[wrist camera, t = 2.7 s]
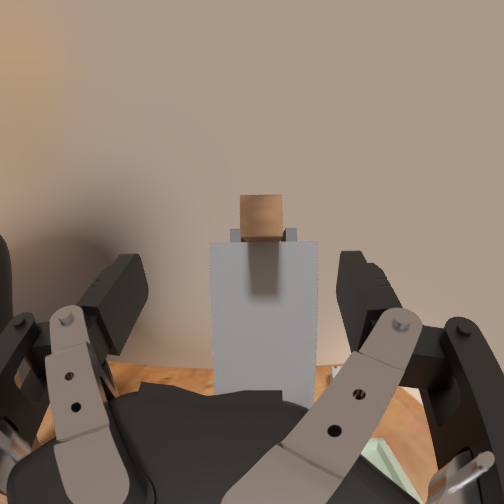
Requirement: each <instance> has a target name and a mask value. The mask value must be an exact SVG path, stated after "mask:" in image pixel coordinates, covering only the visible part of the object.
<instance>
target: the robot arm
mask: <svg viewBox="0 0 504 504" xmlns="http://www.w3.org/2000/svg"><path fill="white" fill-rule="evenodd" d="M336 295H337V301H338V305H339V308H340V312H341V316H342V319H343V323H344V326H345V330H346V334H347V338H348V341H349V345H350V349H351V353H352V354H351V355H350V356H349V358H348V359H347V361H346V362H345V363H344V365H343V366H342V368H341V369H340V370H339V372H338V373H337V375H336V376H335V377H334V379H333V380H332V381H331V383H330V384H329V385H328V387H327V388H326V389H325V391H324V392H323V393H322V394H321V396H320V397H319V398H318V400H317V401H316V402H315V403H314V405H313V406H312V407H311V408H310V410H309V409H308V408H306V407H303V406H301V405H299V404H296V403H292V402H289V401H284V400H283V395H282V390H243V391H237V392H232V393H226V394H219V395H213V396H205V395H201V394H198V393H194V392H191V391H188V390H185V389H182V388H179V387H176V386H173V385H163V384H155V383H147V382H141V385H140V388H139V391H138V392H132V393H127V394H124V395H121V396H120V395H119V392H118V389H117V387H116V384H115V381H114V379H113V376H112V373H111V370H110V367H109V364H108V362H107V360H106V357H107V355H108V354H110V355H118V356H119V355H120V353H121V351H122V349H123V347H124V345H125V343H126V341H127V339H128V337H129V335H130V332H131V331H132V329H133V327H134V324H135V322H136V320H137V318H138V316H139V315H140V313H141V310H142V308H143V307H144V305H145V303H146V301H147V298H148V284H147V280H146V277H145V273H144V269H143V265H142V261H141V258H140V256H139V255H138V254H121V255H119V256H118V258H117V259H116V260H115V261H114V263H113V264H112V265H111V266H109V267H108V268H106V269H105V270H103V271H102V272H101V273H100V274H99V276H98V277H97V278H96V279H95V281H94V282H93V283H92V284H91V287H89V288H88V290H87V291H86V292H85V293H84V295H83V296H82V297H81V299H80V300H79V301H78V303H77V304H76V306H75V305H71V306H66V307H63V308H61V309H59V310H58V311H57V312H55V313H54V315H53V316H52V317H51V319H50V321H49V322H43V323H37V321H36V319H35V317H34V316H33V314H32V313H28V312H26V313H21V314H19V315H17V316H15V317H14V318H13V304H12V272H11V261H10V255H9V251H8V247H7V245H6V242H5V240H4V239H3V237H2V236H1V235H0V493H1V494H3V495H6V496H7V501H8V504H420V503H419V502H418V501H417V500H416V499H415V498H413V497H412V496H411V495H410V494H408V493H407V492H406V491H405V490H403V489H402V488H401V487H400V486H398V485H397V484H396V483H395V482H394V481H392V480H391V479H390V478H389V477H388V476H386V475H385V474H384V473H383V472H382V471H380V470H379V469H378V468H377V467H376V466H375V465H373V464H372V463H371V462H370V461H369V460H368V459H366V458H365V457H364V456H363V455H362V454H361V452H362V451H363V449H364V447H365V446H366V444H367V442H368V441H369V439H370V437H371V436H372V434H373V432H374V431H375V429H376V427H377V425H378V424H379V422H380V420H381V418H382V416H383V415H384V413H385V411H386V409H387V407H388V405H389V403H390V401H391V399H392V397H393V395H394V393H395V391H396V389H397V387H398V386H403V387H411V388H418V389H419V391H420V394H421V398H422V402H423V406H424V409H425V413H426V417H427V421H428V425H429V429H430V433H431V437H432V442H433V446H434V451H435V456H436V461H437V466H438V471H437V472H436V473H435V474H434V476H433V477H432V479H431V480H430V483H429V487H428V499H427V502H426V504H504V374H503V372H502V370H501V368H500V366H499V364H498V362H497V360H496V358H495V356H494V355H493V352H492V351H491V349H490V347H489V345H488V343H487V341H486V340H485V338H484V336H483V334H482V333H481V331H480V329H479V328H478V326H477V325H476V324H475V323H474V322H472V321H471V320H469V319H466V318H463V317H453V318H451V319H449V320H448V321H447V322H446V324H445V327H444V328H437V327H430V326H424V325H422V322H421V320H420V318H419V317H418V316H417V315H416V314H415V313H414V312H412V311H410V310H407V309H404V308H403V307H402V306H401V303H400V301H399V300H398V298H397V296H396V294H395V292H394V290H393V288H392V287H391V285H390V283H389V281H388V280H387V277H386V276H385V274H384V272H383V270H382V269H380V268H379V267H378V266H377V265H375V264H374V263H367V262H366V260H365V258H364V256H363V254H362V252H361V251H342V252H341V254H340V261H339V269H338V277H337V285H336ZM23 358H24V360H25V361H26V363H27V364H28V366H29V367H30V371H29V373H28V375H27V376H26V378H25V380H24V382H23V384H22V386H21V383H20V378H19V374H18V367H19V365H20V364H21V362H22V360H23ZM49 403H50V406H51V412H52V417H53V423H54V428H55V433H56V437H55V438H53V439H51V440H50V441H48V442H47V443H45V444H44V445H42V446H40V444H39V441H38V438H37V436H36V435H37V432H38V430H39V427H40V425H41V422H42V420H43V417H44V415H45V413H46V410H47V408H48V406H49Z"/></svg>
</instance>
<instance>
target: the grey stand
mask: <svg viewBox="0 0 504 504" xmlns="http://www.w3.org/2000/svg"><path fill="white" fill-rule="evenodd" d="M317 256H318V253H317V241H305V242H303V241H302V242H301V241H300V242H297V228H286V229H285V231H284V232H283V237H282V238H281V242H247V241H245V240H244V239H242V238H241V237H240V229H230V242H229V243H210V287H211V323H212V349H213V370H214V388H215V395H219V394H226V393H232V392H237V391H243V390H282V395H283V400H284V401H289V402H292V403H296V404H299V405H301V406H303V407H306V408H308V409H309V410H310V408H311V407H312V406H313V404H314V388H315V370H316V347H317V308H318V307H317V306H318V302H317V301H318V257H317Z"/></svg>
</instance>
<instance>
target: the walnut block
mask: <svg viewBox="0 0 504 504" xmlns="http://www.w3.org/2000/svg"><path fill="white" fill-rule="evenodd" d="M282 225H283V224H282V195H240V237H241V238H242V239H244V240H245V241H247V242H279V241H280V240H281V238H282V237H283V226H282Z"/></svg>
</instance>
